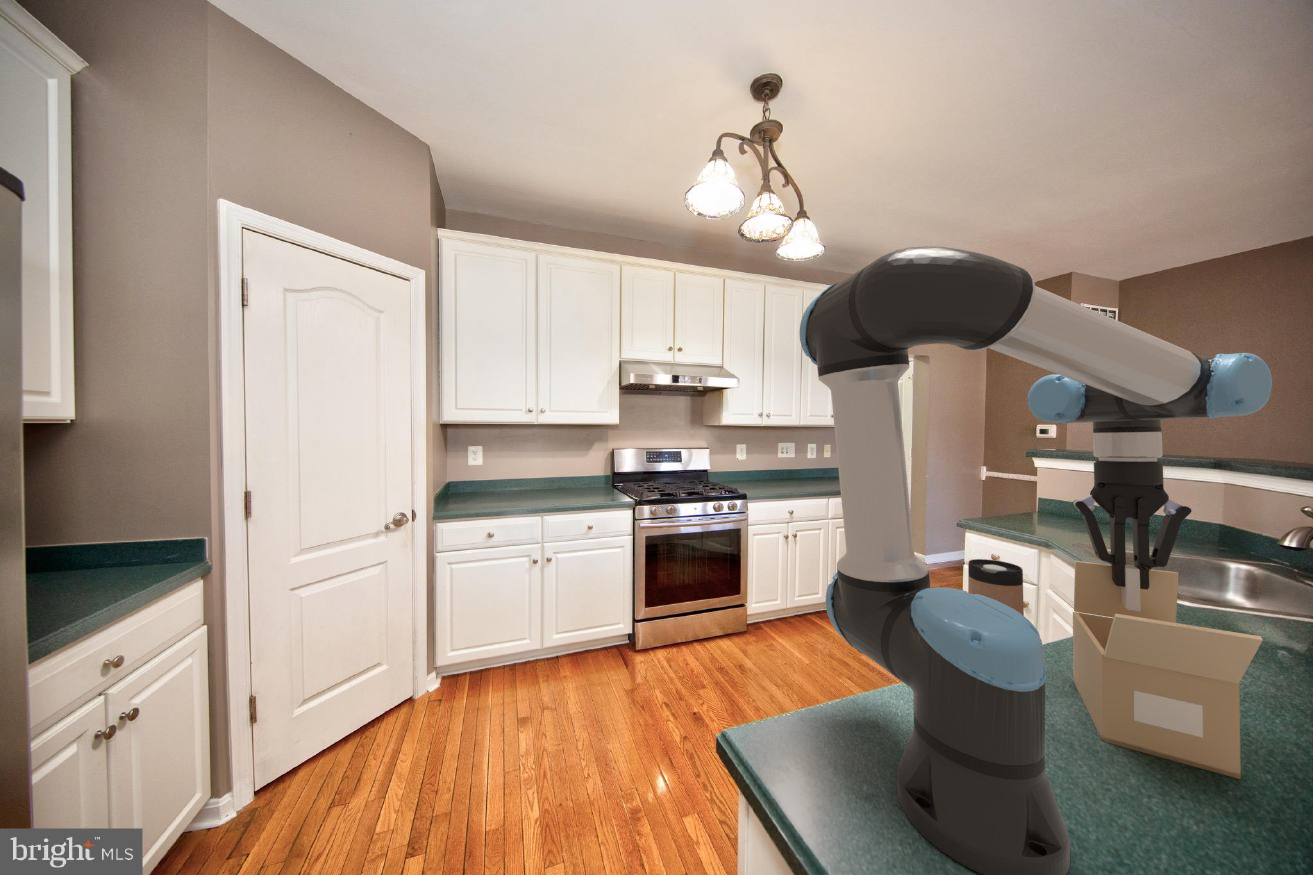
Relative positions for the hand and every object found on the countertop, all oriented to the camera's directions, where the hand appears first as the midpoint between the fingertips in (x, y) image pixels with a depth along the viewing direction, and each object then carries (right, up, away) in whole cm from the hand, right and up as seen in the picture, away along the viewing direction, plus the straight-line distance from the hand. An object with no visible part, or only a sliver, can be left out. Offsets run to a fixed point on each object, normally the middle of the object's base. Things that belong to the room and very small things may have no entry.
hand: (1131, 607), depth 69 cm
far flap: (+1, +2, +2) cm, 3 cm away
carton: (-4, -15, -5) cm, 16 cm away
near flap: (-10, +1, -15) cm, 18 cm away
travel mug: (-17, -15, +6) cm, 23 cm away
